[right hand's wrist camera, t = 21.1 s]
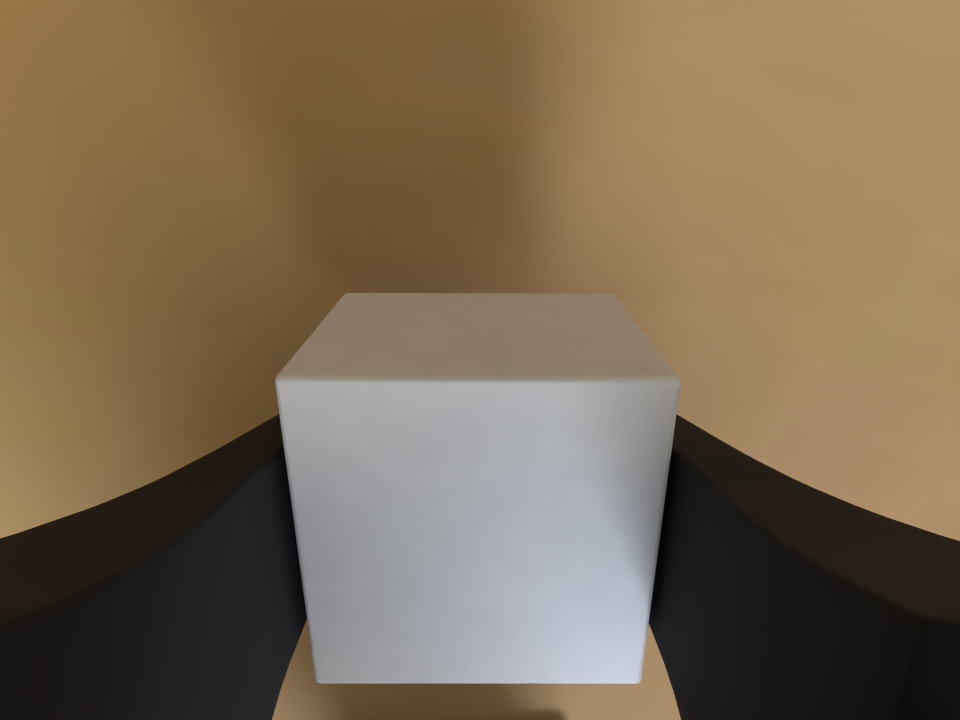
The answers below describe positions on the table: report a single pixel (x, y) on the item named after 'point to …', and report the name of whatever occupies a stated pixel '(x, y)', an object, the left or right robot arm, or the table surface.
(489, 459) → the brick
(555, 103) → the table surface
